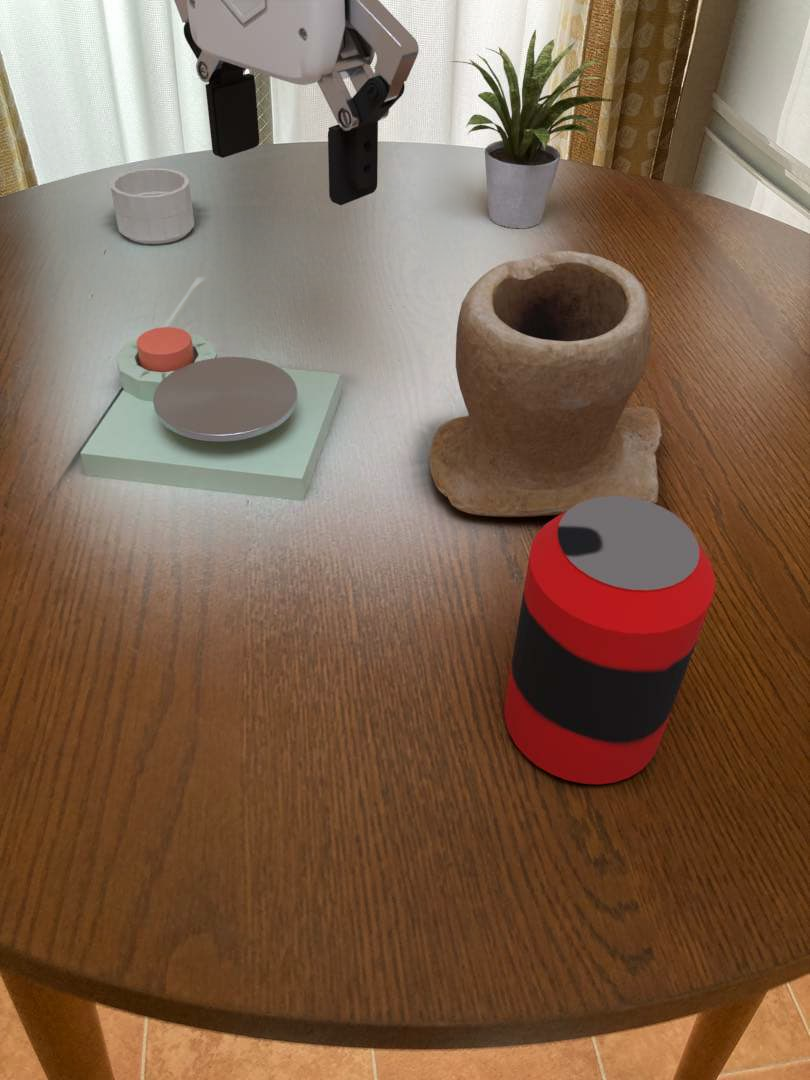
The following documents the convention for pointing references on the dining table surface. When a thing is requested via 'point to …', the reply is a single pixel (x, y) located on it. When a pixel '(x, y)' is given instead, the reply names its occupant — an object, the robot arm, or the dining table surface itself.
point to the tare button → (165, 349)
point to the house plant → (526, 136)
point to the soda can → (605, 637)
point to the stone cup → (549, 390)
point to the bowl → (153, 205)
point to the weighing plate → (225, 399)
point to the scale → (224, 466)
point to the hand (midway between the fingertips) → (292, 173)
